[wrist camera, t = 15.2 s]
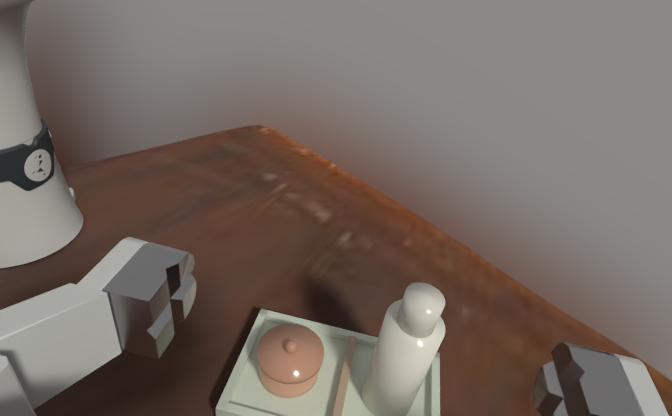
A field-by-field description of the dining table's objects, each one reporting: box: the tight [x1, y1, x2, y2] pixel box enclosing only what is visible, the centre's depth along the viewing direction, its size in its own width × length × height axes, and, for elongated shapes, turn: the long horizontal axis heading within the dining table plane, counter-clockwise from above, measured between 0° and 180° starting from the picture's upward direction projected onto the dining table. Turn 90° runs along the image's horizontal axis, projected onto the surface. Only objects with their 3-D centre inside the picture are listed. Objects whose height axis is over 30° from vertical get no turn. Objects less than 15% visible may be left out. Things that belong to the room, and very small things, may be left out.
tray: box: [215, 309, 440, 416], centre depth 42 cm, size 20×12×2 cm, turn 79°
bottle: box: [361, 283, 445, 416], centre depth 38 cm, size 5×5×14 cm
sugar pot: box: [257, 323, 324, 398], centre depth 42 cm, size 6×6×6 cm
